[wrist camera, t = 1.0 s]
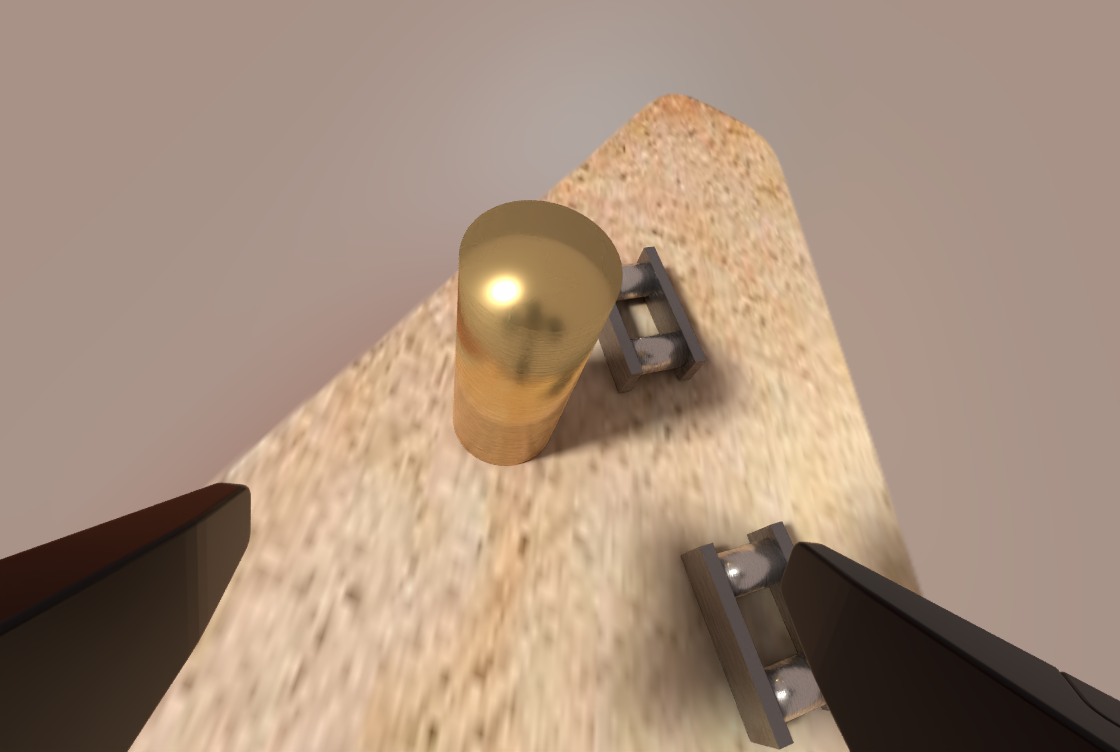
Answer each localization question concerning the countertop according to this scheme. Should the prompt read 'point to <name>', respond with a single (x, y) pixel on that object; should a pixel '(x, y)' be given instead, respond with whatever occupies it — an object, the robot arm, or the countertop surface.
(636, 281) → the chain end
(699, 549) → the chain end
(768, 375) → the countertop surface
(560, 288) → the link pin
